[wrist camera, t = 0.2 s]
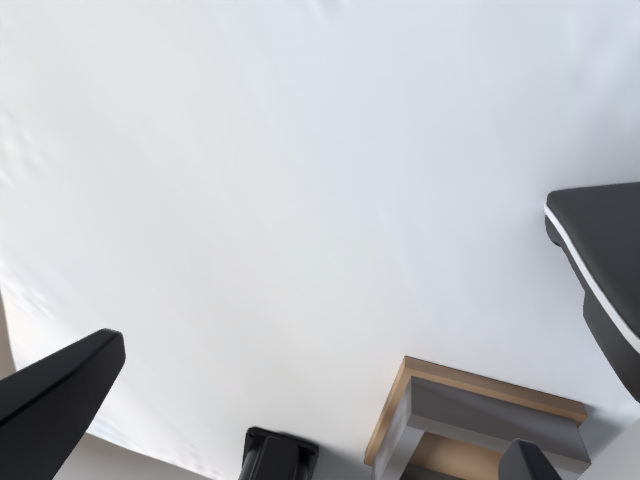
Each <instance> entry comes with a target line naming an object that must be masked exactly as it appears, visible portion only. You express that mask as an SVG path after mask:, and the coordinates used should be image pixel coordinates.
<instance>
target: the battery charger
mask: <svg viewBox="0 0 640 480" xmlns="http://www.w3.org/2000/svg"><path fill="white" fill-rule="evenodd" d="M544 212H545V214H546V215H545V224H546V230H547V234H548V236H549V238H550V239H551V241H552V242H553V243H554V244H556V245H557V246H559V247H561V248H562V249H563V251H564V252H565V254H566V256H567V258H568V260H569V262H570V264H571V266H572V268H573V270H574V272H575V274H576V276H577V277H578V279H579V281H580V283H581V285H582V287H583V289H584V290H585V298H584V305H583V316H584V319H585V321H586V323H587V325H588V327H589V329H590V331H591V332H592V334H593V336H594V338H595V340H596V342H597V343H598V345H599V347H600V348H601V350H602V352H603V353H604V355H605V357H606V358H607V360H608V361H609V363H610V365H611V366H612V368H613V369H614V371H615V373H616V374H617V376H618V377H619V379H620V380H621V382H622V383H623V385H624V386H625V388H626V389H627V390H628V391H629V392H630V394H631V395H632V396H633V397H634V399H635V400H636V401H638V402H639V403H640V183H628V184H617V185H607V186H597V187H587V188H577V189H567V190H558V191H552V192H551V193H549V194H548V196H547V202H546V203H545V204H544Z"/></svg>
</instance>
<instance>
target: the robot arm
mask: <svg viewBox="0 0 640 480" xmlns="http://www.w3.org/2000/svg"><path fill="white" fill-rule="evenodd" d="M125 359H126V353H125V346H124V340H123V335H122V333H121V332H119V331H115V330H111V329H107V328H104V329H101V330H98V331H96V332H94V333H93V334H91V335H89V336H87V337H85V338H83V339H81V340H79V341H77V342H75V343H73V344H71V345H69V346H67V347H65V348H63V349H61V350H59V351H57V352H55V353H53V354H51V355H49V356H47V357H45V358H43V359H41V360H39V361H37V362H35V363H33V364H31V365H29V366H27V367H25V368H23V369H21V370H19V371H17V372H15V373H13V374H11V375H9V376H8V377H5V378H4V379H2V380H0V480H52V479H53V477H54V476H55V475H56V473H57V472H58V470H59V469H60V468H61V466H62V465H63V463H64V461H65V460H66V459H67V458H68V456H69V455H70V453H71V452H72V450H73V449H74V448H75V446H76V445H77V443H78V442H79V440H80V439H81V438H82V436H83V435H84V433H85V432H86V430H87V429H88V427H89V425H90V424H91V422H92V420H93V419H94V417H95V415H96V413H97V412H98V410H99V408H100V406H101V405H102V403H103V401H104V399H105V397H106V396H107V394H108V392H109V390H110V389H111V387H112V385H113V383H114V381H115V380H116V378H117V376H118V374H119V373H120V371H121V369H122V367H123V365H124V363H125ZM318 454H319V448H318V447H316V446H314V445H310V444H307V443H303V442H300V441H296V440H293V439H289V438H286V437H282V436H279V435H275V434H272V433H268V432H265V431H261V430H258V429H255V428H249V429H248V430H247V433H246V438H245V446H244V454H243V462H242V471H241V473H240V476H239V479H238V480H311V478H312V474H313V471H314V468H315V465H316V461H317V458H318ZM498 480H563V479H562V478H561V477H560V475H559V474H558V472H557V471H556V470H555V468H554V467H553V466H552V464H551V463H550V461H549V460H548V459H547V457H546V456H545V455H544V453H543V452H542V450H541V449H540V448H539V447H538V446H537V445H536V444H535V443H533V442H530V441H526V440H523V439H519V438H516V439H514V440H513V441H512V442H511V444H510V445H509V446H508V448H507V449H506V450H505V452H504V453H503V455H502V456H501V458H500V460H499V463H498Z"/></svg>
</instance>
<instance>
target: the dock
mask: <svg viewBox="0 0 640 480" xmlns="http://www.w3.org/2000/svg"><path fill="white" fill-rule="evenodd" d="M587 417H588V415H587V413H586V411H585V409H584V406H583V404H582V403H580V402H576V401H572V400H568V399H565V398H561V397H557V396H553V395H550V394H546V393H542V392H538V391H534V390H531V389H527V388H523V387H519V386H516V385H512V384H508V383H504V382H501V381H497V380H493V379H489V378H486V377H482V376H478V375H474V374H471V373H467V372H463V371H459V370H456V369H452V368H448V367H444V366H441V365H437V364H433V363H429V362H425V361H422V360H418V359H414V358H410V357H407V356H405V357H404V359H403V362H402V364H401V367H400V369H399V371H398V374H397V376H396V379H395V381H394V384H393V386H392V388H391V391H390V393H389V396H388V398H387V401H386V403H385V405H384V408H383V410H382V413H381V415H380V418H379V420H378V422H377V425H376V427H375V430H374V432H373V435H372V437H371V439H370V442H369V444H368V447H367V449H366V451H365V459H364V464H366V465H369V466H372V479H371V480H498V463H499V460H500V458H501V456H502V455H503V453H504V452H505V450H506V449H507V448H508V446H509V445H510V444H511V442H512V441H513V440H514V439H516V438H519V439H523V440H526V441H530V442H533V443H535V444H536V445H537V446H538V447H539V448H540V449H541V450H542V452H543V453H544V455H545V456H546V457H547V459H548V460H549V461H550V463H551V464H552V466H553V467H554V468H555V470H556V471H557V472H558V474H559V475H560V477H561V478H562V479H563V480H577V478H578V477H579V476H580V475H581V474H582V473H583V472H584V471H585V470H586V469H587V468H588V467H589V466H590V465H591V464H592V463H591V461H590V458H589V456H588V454H587V451H586V449H585V446H584V444H583V441H582V439H581V436H580V434H579V431H578V429H577V428H578V427H579V426H580V425H581V424H582V422H583V421H584V420H585V419H586V418H587Z"/></svg>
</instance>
